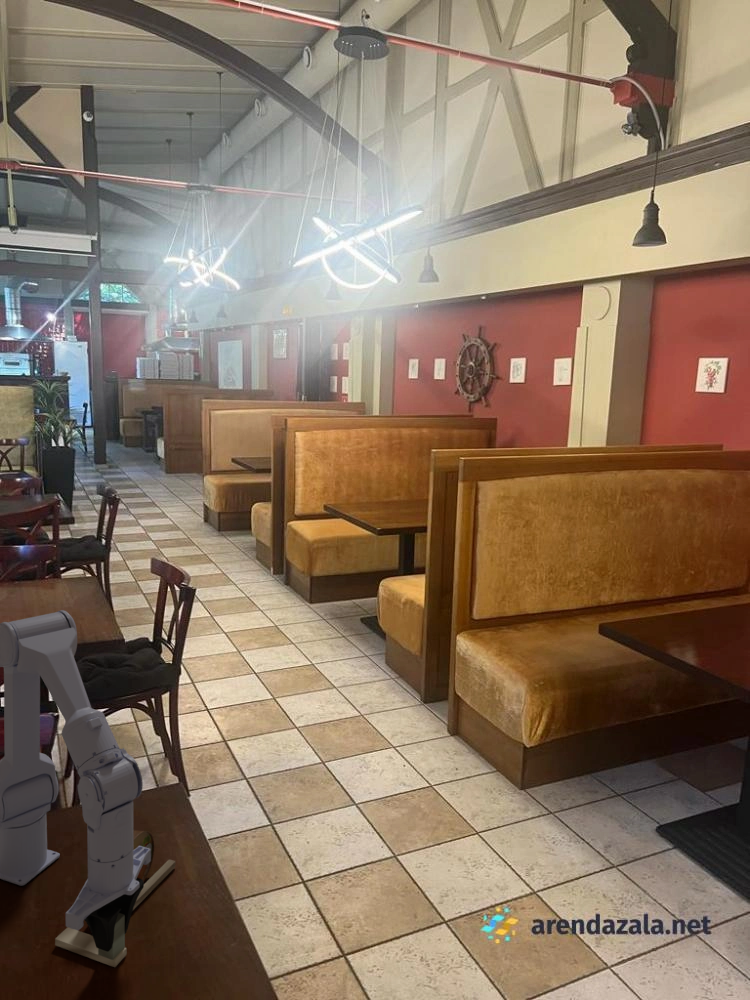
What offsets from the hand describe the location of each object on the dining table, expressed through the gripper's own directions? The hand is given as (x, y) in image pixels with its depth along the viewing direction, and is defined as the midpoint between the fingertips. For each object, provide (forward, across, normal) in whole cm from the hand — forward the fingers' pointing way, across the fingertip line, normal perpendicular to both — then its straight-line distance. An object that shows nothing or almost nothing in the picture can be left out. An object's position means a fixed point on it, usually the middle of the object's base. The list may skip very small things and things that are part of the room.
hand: (111, 939), depth 97 cm
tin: (+3, +10, +7) cm, 13 cm away
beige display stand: (+3, +9, +4) cm, 10 cm away
